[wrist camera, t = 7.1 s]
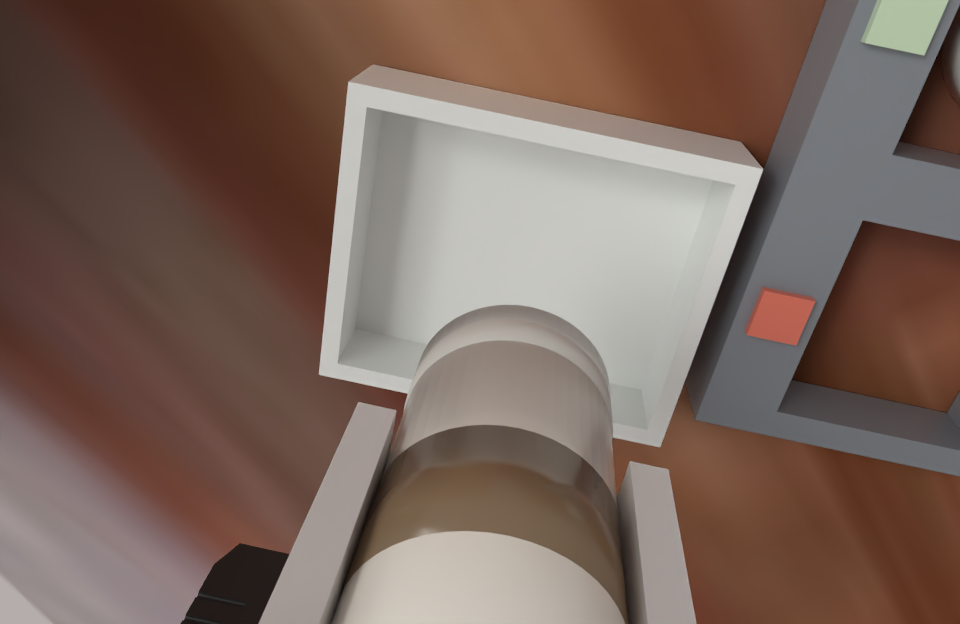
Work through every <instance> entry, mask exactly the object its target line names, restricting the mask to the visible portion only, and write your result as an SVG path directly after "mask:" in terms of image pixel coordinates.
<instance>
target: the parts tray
mask: <svg viewBox="0 0 960 624" xmlns="http://www.w3.org/2000/svg"><path fill="white" fill-rule="evenodd" d="M762 172H763V168H762V167H761V166H760V164H759V163H758V162H757V161H756V159H755V158H754V157H753V156H752V155H751V153H750V152H749V151H748V150H747V149H746V147H745V146H744V145H743V144H742V142H740V141H735V140H730V139H725V138H721V137H716V136H711V135H706V134H702V133H697V132H692V131H687V130H683V129H678V128H673V127H668V126H664V125H659V124H654V123H650V122H645V121H640V120H635V119H631V118H626V117H621V116H616V115H612V114H607V113H602V112H597V111H593V110H588V109H583V108H578V107H574V106H569V105H564V104H559V103H555V102H550V101H545V100H540V99H536V98H531V97H526V96H521V95H517V94H512V93H507V92H502V91H498V90H493V89H488V88H483V87H479V86H474V85H469V84H464V83H460V82H455V81H450V80H446V79H441V78H436V77H431V76H427V75H422V74H417V73H412V72H408V71H403V70H398V69H393V68H389V67H384V66H379V65H374V64H373V65H371V66H370V67H368V68H367V69H366V70H364V71H363V72H361V73H360V74H358V75H357V76H356V77H354V78H353V79H351V80H350V81H349V82H348V90H347V100H346V110H345V120H344V130H343V140H342V150H341V160H340V170H339V180H338V189H337V199H336V209H335V219H334V229H333V239H332V249H331V259H330V269H329V279H328V289H327V299H326V309H325V319H324V328H323V338H322V348H321V358H320V368H319V375H323V376H327V377H332V378H337V379H342V380H346V381H351V382H356V383H360V384H365V385H370V386H374V387H379V388H384V389H388V390H393V391H398V392H403V393H407V394H408V392H409V389H410V386H411V383H412V381H413V378H414V375H415V372H416V369H417V366H418V363H419V361H420V358H421V356H422V354H423V351H424V350H425V348H426V346H427V345H428V343H429V341H430V340H431V339H432V338H433V337H434V336H435V334H436V333H437V332H438V331H439V330H440V329H442V328H443V327H444V326H445V325H446V324H448V323H449V322H451V321H452V320H454V319H455V318H457V317H459V316H461V315H463V314H465V313H467V312H470V311H473V310H476V309H479V308H484V307H489V306H495V305H521V306H528V307H533V308H537V309H541V310H544V311H547V312H549V313H552V314H554V315H557V316H559V317H560V318H562V319H564V320H566V321H568V322H569V323H571V324H572V325H573V326H575V327H576V328H577V329H579V330H580V331H581V332H582V333H583V334H584V335H585V336H586V337H587V338H588V339H589V340H590V341H591V343H592V344H593V345H594V346H595V348H596V349H597V351H598V352H599V354H600V356H601V358H602V360H603V362H604V365H605V367H606V370H607V374H608V378H609V387H610V398H611V409H612V421H613V437H614V438H618V439H623V440H628V441H632V442H637V443H642V444H646V445H651V446H656V447H661V444H662V441H663V439H664V436H665V433H666V430H667V428H668V425H669V422H670V420H671V417H672V414H673V412H674V409H675V406H676V403H677V401H678V398H679V395H680V393H681V390H682V387H683V385H684V382H685V379H686V377H687V374H688V371H689V368H690V366H691V363H692V360H693V358H694V355H695V352H696V350H697V347H698V344H699V342H700V339H701V336H702V333H703V331H704V328H705V325H706V323H707V320H708V317H709V315H710V312H711V309H712V306H713V304H714V301H715V298H716V296H717V293H718V290H719V288H720V285H721V282H722V280H723V277H724V274H725V271H726V269H727V266H728V263H729V261H730V258H731V255H732V253H733V250H734V247H735V245H736V242H737V239H738V236H739V234H740V231H741V228H742V226H743V223H744V220H745V218H746V215H747V212H748V210H749V207H750V204H751V201H752V199H753V196H754V193H755V191H756V188H757V185H758V183H759V180H760V177H761V174H762Z"/></svg>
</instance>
